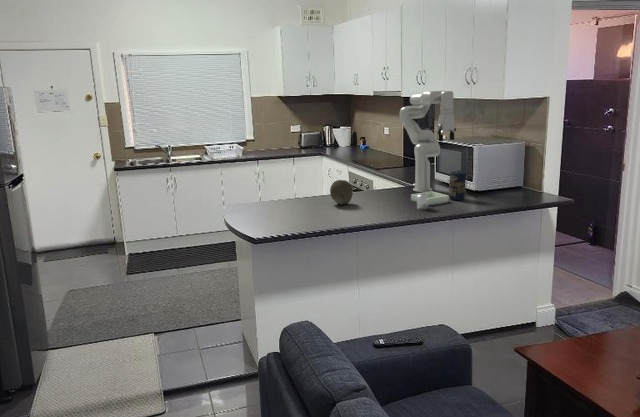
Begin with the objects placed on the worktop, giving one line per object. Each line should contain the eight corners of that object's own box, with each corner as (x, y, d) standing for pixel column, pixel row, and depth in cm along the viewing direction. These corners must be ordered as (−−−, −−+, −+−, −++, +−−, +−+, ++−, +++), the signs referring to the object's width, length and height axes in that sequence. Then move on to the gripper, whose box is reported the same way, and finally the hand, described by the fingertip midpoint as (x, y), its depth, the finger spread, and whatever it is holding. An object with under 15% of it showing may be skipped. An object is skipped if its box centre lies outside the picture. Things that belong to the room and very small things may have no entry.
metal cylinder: (414, 208, 301) (414, 194, 299) (423, 206, 304) (423, 193, 302) (421, 210, 296) (421, 196, 294) (429, 208, 298) (429, 195, 296)
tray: (411, 200, 320) (411, 194, 319) (431, 197, 327) (431, 191, 326) (427, 205, 306) (427, 199, 305) (448, 202, 313) (448, 195, 312)
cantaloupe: (357, 203, 318) (357, 179, 315) (345, 207, 307) (344, 183, 304) (337, 200, 326) (337, 177, 323) (325, 205, 315) (324, 181, 311)
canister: (445, 199, 320) (446, 170, 316) (455, 197, 326) (456, 168, 322) (458, 201, 313) (459, 172, 309) (468, 199, 319) (469, 170, 314)
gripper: (451, 111, 322) (451, 138, 325) (431, 112, 312) (431, 141, 316) (461, 111, 316) (460, 139, 319) (441, 112, 306) (440, 142, 310)
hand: (446, 140), depth 318 cm, fingers open, 9 cm apart
